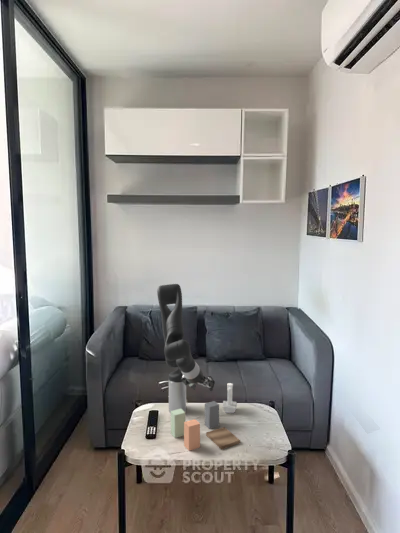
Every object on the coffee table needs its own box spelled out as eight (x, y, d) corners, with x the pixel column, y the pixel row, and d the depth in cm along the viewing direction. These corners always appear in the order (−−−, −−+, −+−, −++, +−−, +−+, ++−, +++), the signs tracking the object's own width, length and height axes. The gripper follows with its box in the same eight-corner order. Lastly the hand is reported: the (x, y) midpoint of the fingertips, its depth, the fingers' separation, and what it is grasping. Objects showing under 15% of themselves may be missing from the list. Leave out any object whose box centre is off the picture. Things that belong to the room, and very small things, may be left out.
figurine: (236, 407, 203) (236, 380, 201) (236, 415, 193) (236, 387, 192) (223, 406, 204) (223, 379, 202) (222, 414, 194) (222, 387, 193)
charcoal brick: (204, 424, 184) (204, 403, 183) (214, 422, 187) (214, 400, 186) (209, 429, 180) (209, 407, 179) (219, 426, 183) (219, 404, 182)
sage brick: (170, 433, 176) (170, 411, 175) (181, 430, 179) (181, 408, 178) (174, 438, 172) (174, 415, 171) (185, 435, 175) (185, 412, 174)
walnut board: (206, 435, 175) (206, 432, 174) (224, 429, 180) (224, 427, 179) (221, 449, 163) (221, 446, 163) (240, 443, 168) (240, 440, 168)
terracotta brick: (184, 445, 166) (184, 422, 165) (195, 442, 169) (195, 419, 168) (188, 450, 163) (188, 426, 161) (199, 447, 165) (199, 423, 164)
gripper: (208, 363, 160) (219, 382, 171) (178, 362, 166) (191, 379, 176) (204, 379, 155) (216, 397, 166) (174, 377, 161) (187, 395, 172)
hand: (203, 388), depth 171 cm, fingers open, 8 cm apart
